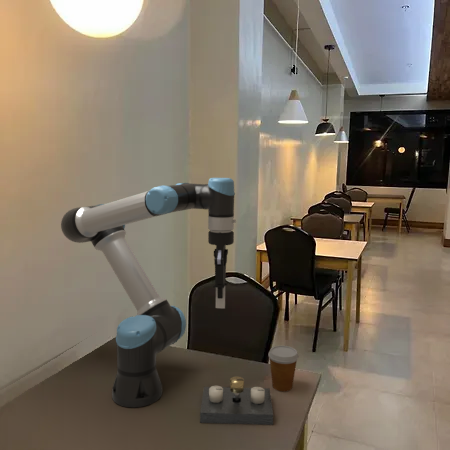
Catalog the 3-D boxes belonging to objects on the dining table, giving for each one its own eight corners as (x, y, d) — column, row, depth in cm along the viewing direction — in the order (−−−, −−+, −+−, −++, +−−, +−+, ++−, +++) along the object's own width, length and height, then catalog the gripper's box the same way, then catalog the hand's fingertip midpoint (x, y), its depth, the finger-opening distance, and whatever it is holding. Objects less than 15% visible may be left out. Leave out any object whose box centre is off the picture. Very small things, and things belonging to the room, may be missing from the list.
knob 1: (208, 412, 127) (208, 392, 126) (209, 404, 131) (209, 385, 130) (222, 412, 127) (222, 392, 126) (223, 404, 131) (223, 385, 130)
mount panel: (200, 422, 122) (200, 412, 122) (204, 395, 136) (204, 386, 136) (272, 424, 122) (273, 414, 121) (269, 397, 136) (269, 388, 135)
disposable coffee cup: (296, 396, 137) (298, 359, 135) (265, 392, 139) (266, 356, 137) (297, 381, 146) (299, 346, 144) (269, 377, 148) (269, 343, 146)
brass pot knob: (229, 402, 127) (229, 382, 126) (229, 395, 131) (230, 376, 130) (243, 403, 127) (244, 383, 126) (243, 395, 131) (243, 376, 130)
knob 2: (250, 413, 127) (250, 393, 126) (250, 405, 131) (250, 386, 130) (264, 413, 127) (265, 393, 126) (263, 405, 131) (264, 386, 130)
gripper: (232, 234, 124) (231, 315, 128) (235, 227, 137) (234, 301, 141) (205, 233, 125) (205, 314, 128) (211, 226, 138) (210, 300, 141)
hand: (220, 307), depth 134 cm, fingers closed
